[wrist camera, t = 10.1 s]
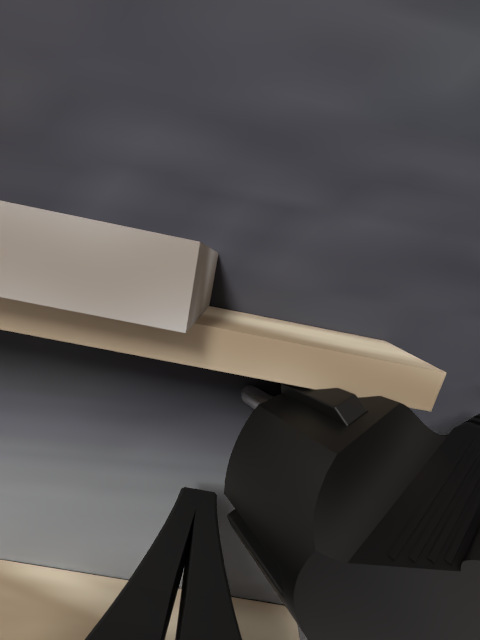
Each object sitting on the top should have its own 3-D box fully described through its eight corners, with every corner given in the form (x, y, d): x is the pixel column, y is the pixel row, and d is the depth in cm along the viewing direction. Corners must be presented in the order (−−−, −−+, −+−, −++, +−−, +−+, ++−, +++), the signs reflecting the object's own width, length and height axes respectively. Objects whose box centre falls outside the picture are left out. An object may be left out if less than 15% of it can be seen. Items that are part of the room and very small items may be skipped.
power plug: (547, 469, 10) (429, 929, 3) (363, 399, 16) (196, 513, 10) (572, 335, 9) (465, 639, 2) (364, 315, 15) (174, 379, 8)
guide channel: (280, 649, 13) (296, 808, 9) (-58, 596, 13) (-191, 742, 9) (401, 290, 9) (518, 307, 5) (-88, 190, 9) (-359, 126, 5)
